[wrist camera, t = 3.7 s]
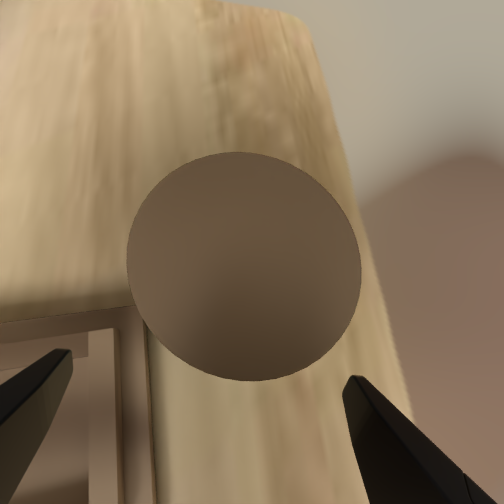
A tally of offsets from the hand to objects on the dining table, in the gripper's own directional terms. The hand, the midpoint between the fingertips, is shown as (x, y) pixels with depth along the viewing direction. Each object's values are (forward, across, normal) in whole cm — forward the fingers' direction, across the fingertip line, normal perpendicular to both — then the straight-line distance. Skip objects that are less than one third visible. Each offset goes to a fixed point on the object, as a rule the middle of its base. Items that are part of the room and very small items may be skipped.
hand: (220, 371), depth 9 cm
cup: (+9, 0, +5) cm, 10 cm away
